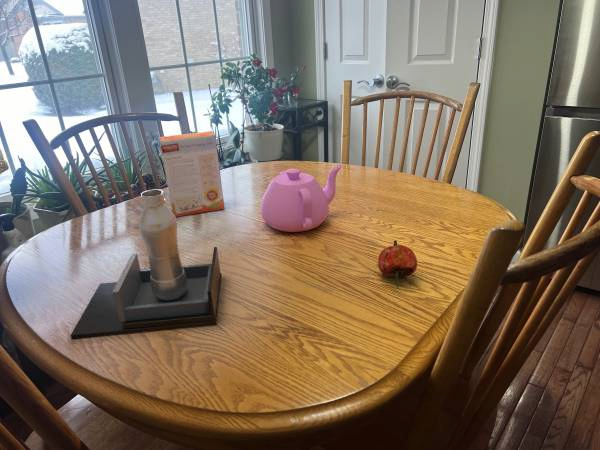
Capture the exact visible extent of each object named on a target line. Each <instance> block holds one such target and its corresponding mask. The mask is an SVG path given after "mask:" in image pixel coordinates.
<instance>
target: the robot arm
mask: <svg viewBox="0 0 600 450" xmlns="http://www.w3.org/2000/svg"><path fill="white" fill-rule="evenodd" d="M9 169H10V167H9V164H8V161H7V160H5V157H4V154H3V151H2V149H1V147H0V175H1V174H3V173H5V172H6V171H8V170H9Z"/></svg>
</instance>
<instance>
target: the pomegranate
mask: <svg viewBox="0 0 600 450" xmlns="http://www.w3.org/2000/svg"><path fill="white" fill-rule="evenodd" d="M392 242H393V245H389V246H387V247H385V248H384V249H382V250H381V251H380V253H379V254H378V260H377V267H378V269H379V272H380V273H381V274H382V275H383V277H386V278H394V277H395V279H396V289H397V290H398V289H399V281H400V280H399V277H400V278H405V277H406V278H407V277H410V276H411V275H412V274H413V273H414V272H416V271H417V268H418V259H417V256H416V254H415V252H414V251H413V249H411V248H410V247H408V246H405V245H402V244H398V241H397V240H396V239H395V240H393V241H392Z"/></svg>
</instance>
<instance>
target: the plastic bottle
mask: <svg viewBox="0 0 600 450" xmlns="http://www.w3.org/2000/svg"><path fill="white" fill-rule="evenodd" d="M140 199H141V205H142V207H143V209H142V211H141V213H140V214H139V216H138V220H137V227H138V230H139V234H140V236H141V238H142V241H143V244H144V246H145V247H144V248H145V250H146V254H147V257H148V263H149V269H150V272H151V276H150V282H151V289H152V291H153V293H154V295H155V296H156V297H157V298H159V299H160V300H165V301H169V300H175V299H178V298H180V297H181V296H183V295H184V293H185V292H186V290H187V284H188V280H187V277H186V274H185V271H184V269H183V266H184V265H183V263H182V259H181V256H180V250H179V243H178V242H179V240H178V220H177V217H175V215H174V213H173V211H172V209H170V208H169V207H168V206H166V198H165V193H164V191H163V190H162V189H157V188H155V189H148V190H145V191H143V192H141V193H140Z"/></svg>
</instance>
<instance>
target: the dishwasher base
mask: <svg viewBox="0 0 600 450" xmlns="http://www.w3.org/2000/svg"><path fill="white" fill-rule="evenodd" d="M211 258H212V259H211V263H212V264H211V263H210V264H211V271H210V277H209V284H208V291H207V293H208V300H209V306H210V313H211V314H201V315H190V316H180V317H169V318H159V319H148V320H137V321H127V322H120V320H119V316H118V313H117V309H116V305H115V301H114V297H113V293H112V292H113V290H114V288H115V286H116V284H117V282H118V281H114V282H113V281H112V282H101V283H99V285H98V286H97V288H96V290H95V292H94V293H93V294H92V297H91V299H90V300H89V302H88V304H87V306H86V308H85V309H84V310H83V312H82V314H81V316H80V318H79V319H78V321H77V323H76V325H75V327H74V329H73V330H72V332H71V334H70V338H71V340H75V339H76V340H77V339H85V338H97V337H105V336H107V337H108V336H116V335H117V336H118V335H128V334H138V333H146V332H158V331H168V330H179V329H188V328H199V327H210V326H217V325H218V316H219V308H220V307H219V306H220V296H221V286H222V272H221V266H220V260H219V259H220V258H219V251H218V246H214V247H213V251H212V257H211ZM140 287H141V286H140ZM139 289H140V288H139ZM138 292H139V291H138ZM137 294H138V293H137ZM135 299H136V298H135ZM133 304H134V303H133ZM132 306H133V305H132Z"/></svg>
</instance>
